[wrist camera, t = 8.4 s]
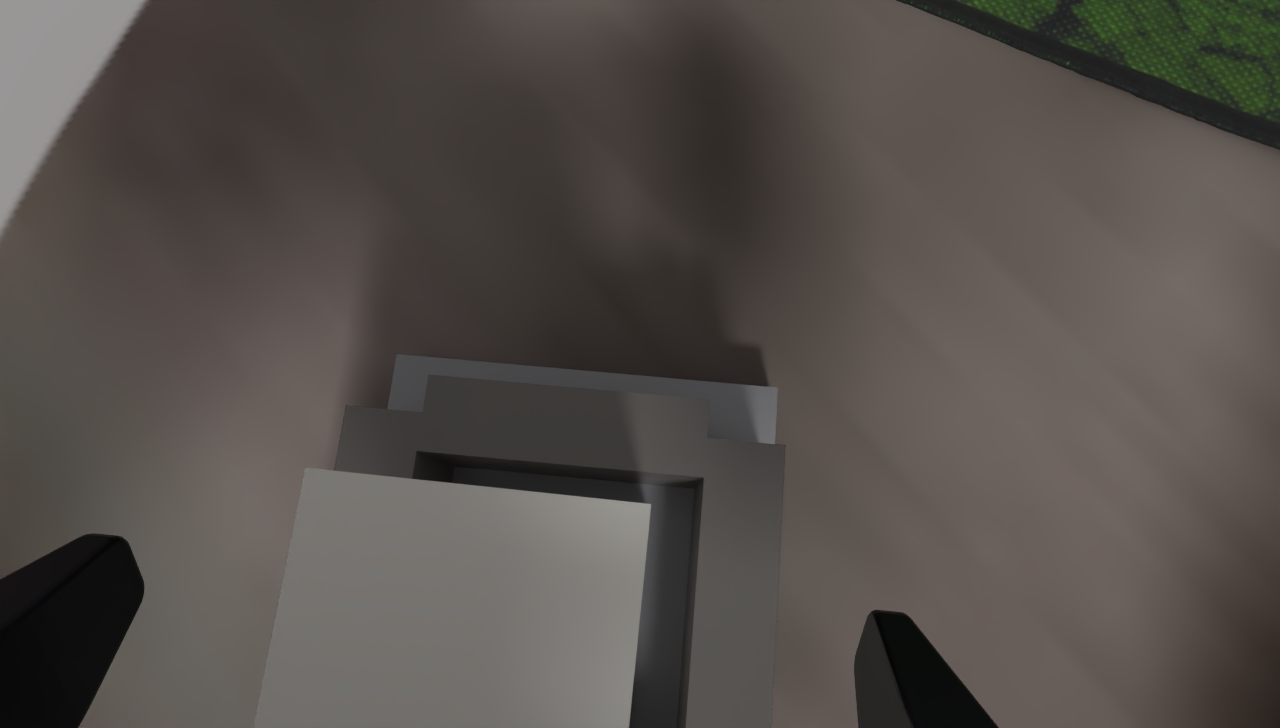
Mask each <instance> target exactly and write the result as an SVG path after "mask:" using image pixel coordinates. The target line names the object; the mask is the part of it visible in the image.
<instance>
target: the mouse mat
mask: <svg viewBox="0 0 1280 728" xmlns="http://www.w3.org/2000/svg"><path fill="white" fill-rule="evenodd" d="M897 1H899V2H902V3H905V4H908V5H911V6H914V7H916V8H918V9H921V10H923V11H926V12H928V13H930V14H933V15H935V16H938V17H941V18H943V19H946V20H949V21H951V22H954V23H956V24H959V25H962V26H964V27H966V28H969V29H971V30H974V31H976V32H978V33H980V34H983V35H985V36H988V37H991V38H993V39H996V40H998V41H1000V42H1003V43H1005V44H1007V45H1009V46H1011V47H1014V48H1016V49H1019V50H1021V51H1024V52H1027V53H1029V54H1032V55H1034V56H1036V57H1039V58H1041V59H1044V60H1047V61H1050V62H1053V63H1055V64H1057V65H1059V66H1062V67H1064V68H1067V69H1070V70H1073V71H1075V72H1077V73H1079V74H1081V75H1084V76H1086V77H1089V78H1092V79H1095V80H1098V81H1100V82H1103V83H1106V84H1108V85H1111V86H1113V87H1116V88H1118V89H1121V90H1124V91H1127V92H1129V93H1131V94H1133V95H1135V96H1136V97H1139V98H1141V99H1144V100H1147V101H1150V102H1153V103H1156V104H1159V105H1162V106H1164V107H1166V108H1168V109H1170V110H1173V111H1175V112H1177V113H1180V114H1183V115H1186V116H1189V117H1192V118H1194V119H1196V120H1198V121H1201V122H1205V123H1207V124H1210V125H1212V126H1214V127H1216V128H1219V129H1221V130H1224V131H1227V132H1229V133H1232V134H1235V135H1238V136H1241V137H1244V138H1247V139H1250V140H1253V141H1256V142H1259V143H1262V144H1265V145H1268V146H1271V147H1274V148H1276V149H1279V150H1280V0H897Z"/></svg>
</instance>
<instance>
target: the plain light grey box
mask: <svg viewBox="0 0 1280 728" xmlns="http://www.w3.org/2000/svg"><path fill="white" fill-rule="evenodd" d="M650 511H651V504H645V503H636V502H627V501H617V500H608V499H598V498H589V497H579V496H570V495H560V494H551V493H541V492H532V491H522V490H513V489H503V488H494V487H485V486H475V485H466V484H456V483H447V482H437V481H428V480H418V479H409V478H399V477H390V476H380V475H371V474H361V473H352V472H342V471H333V470H324V469H314V468H305V472H304V477H303V482H302V487H301V492H300V497H299V502H298V507H297V512H296V517H295V522H294V527H293V532H292V537H291V542H290V547H289V552H288V557H287V562H286V567H285V572H284V577H283V582H282V587H281V592H280V597H279V602H278V607H277V612H276V617H275V622H274V627H273V632H272V637H271V642H270V647H269V652H268V657H267V662H266V667H265V672H264V677H263V682H262V687H261V692H260V697H259V702H258V707H257V712H256V717H255V722H254V727H253V728H629V723H630V713H631V703H632V693H633V683H634V673H635V663H636V653H637V643H638V633H639V623H640V613H641V603H642V593H643V583H644V573H645V563H646V553H647V543H648V533H649V522H650Z"/></svg>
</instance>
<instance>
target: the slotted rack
mask: <svg viewBox="0 0 1280 728" xmlns="http://www.w3.org/2000/svg"><path fill="white" fill-rule="evenodd" d="M777 396H778V388H777V387H766V386H754V385H743V384H732V383H720V382H709V381H698V380H687V379H675V378H664V377H653V376H641V375H630V374H619V373H607V372H596V371H585V370H573V369H562V368H551V367H539V366H528V365H517V364H506V363H494V362H483V361H472V360H460V359H449V358H438V357H426V356H415V355H404V354H396V359H395V365H394V371H393V377H392V383H391V389H390V395H389V401H388V407H387V409H381V408H370V407H359V406H348V405H346V408H345V414H344V419H343V425H342V430H341V436H340V442H339V447H338V453H337V458H336V464H335V469H334V471H342V472H352V473H361V474H371V475H380V476H390V477H399V478H409V479H418V480H428V481H437V482H447V483H456V484H466V485H475V486H485V487H494V488H503V489H513V490H522V491H532V492H541V493H551V494H560V495H570V496H579V497H589V498H598V499H608V500H617V501H627V502H636V503H645V504H651V511H650V522H649V533H648V543H647V553H646V563H645V573H644V583H643V593H642V603H641V613H640V623H639V633H638V643H637V653H636V663H635V673H634V683H633V693H632V703H631V713H630V723H629V728H771V724H772V704H773V684H774V665H775V645H776V625H777V605H778V585H779V566H780V546H781V526H782V506H783V486H784V467H785V447H786V445H779V444H775V433H776V414H777Z"/></svg>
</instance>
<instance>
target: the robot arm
mask: <svg viewBox="0 0 1280 728" xmlns="http://www.w3.org/2000/svg"><path fill="white" fill-rule="evenodd" d="M143 595H144V581H143V578H142V576H141V573H140V570H139V568H138V565H137V563H136V560H135V558H134V555H133V553H132V550H131V548H130V545H129V543H128V542H127V541H126V540H125V539H124V538H123V537H120V536H115V535H104V534H87V535H83V536H81V537H79V538H77V539H75V540H73V541H71V542H69V543H68V544H66V545H64V546H62V547H60V548H58V549H56V550H54V551H53V552H51V553H49V554H47V555H45V556H43V557H41V558H40V559H38V560H36V561H34V562H32V563H30V564H28V565H26V566H25V567H23V568H21V569H19V570H17V571H15V572H13V573H11V574H10V575H8V576H6V577H4V578H2V579H0V728H78V727H79V725H80V723H81V722H82V720H83V718H84V716H85V714H86V712H87V711H88V709H89V707H90V705H91V703H92V701H93V699H94V697H95V695H96V693H97V691H98V689H99V687H100V685H101V683H102V681H103V679H104V677H105V675H106V673H107V671H108V669H109V667H110V665H111V663H112V661H113V659H114V657H115V655H116V653H117V651H118V649H119V647H120V645H121V643H122V641H123V639H124V637H125V635H126V633H127V631H128V629H129V627H130V625H131V623H132V621H133V619H134V617H135V615H136V613H137V611H138V608H139V606H140V604H141V602H142V599H143ZM854 676H855V689H856V701H857V713H858V726H859V728H998V726H997V725H996V724H995V723H994V721H993V720H992V719H991V718H990V716H989V715H988V714H987V713H986V711H985V710H984V709H983V708H982V706H981V705H980V704H979V703H978V701H977V700H976V699H975V698H974V696H973V695H972V694H971V693H970V691H969V690H968V689H967V688H966V686H965V685H964V684H963V683H962V681H961V680H960V679H959V678H958V676H957V675H956V674H955V673H954V671H953V670H952V669H951V668H950V666H949V665H948V664H947V663H946V661H945V660H944V659H943V658H942V656H941V655H940V654H939V653H938V651H937V650H936V649H935V648H934V647H933V645H932V644H931V643H930V642H929V640H928V639H927V638H926V637H925V635H924V634H923V633H922V632H921V630H920V629H919V628H918V627H917V625H916V624H915V623H914V622H913V620H912V619H911V618H910V617H909V616H908V615H906V614H904V613H902V612H893V611H883V610H873V611H871V612H870V614H869V615H868V617H867V620H866V623H865V626H864V629H863V632H862V636H861V639H860V642H859V645H858V648H857V651H856V655H855V663H854Z"/></svg>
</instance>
